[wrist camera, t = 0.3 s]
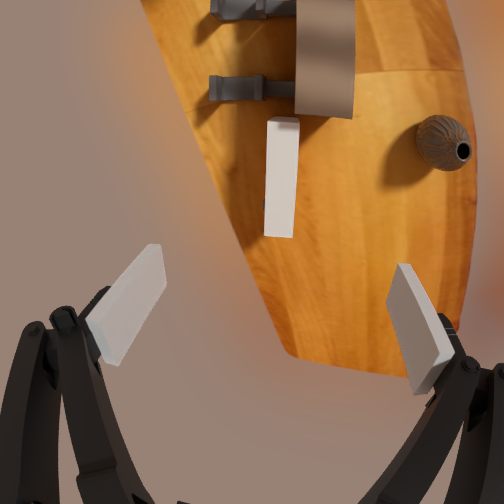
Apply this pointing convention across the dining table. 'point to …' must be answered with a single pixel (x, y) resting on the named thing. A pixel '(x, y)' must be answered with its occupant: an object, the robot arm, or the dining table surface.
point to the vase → (443, 143)
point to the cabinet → (300, 56)
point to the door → (281, 175)
